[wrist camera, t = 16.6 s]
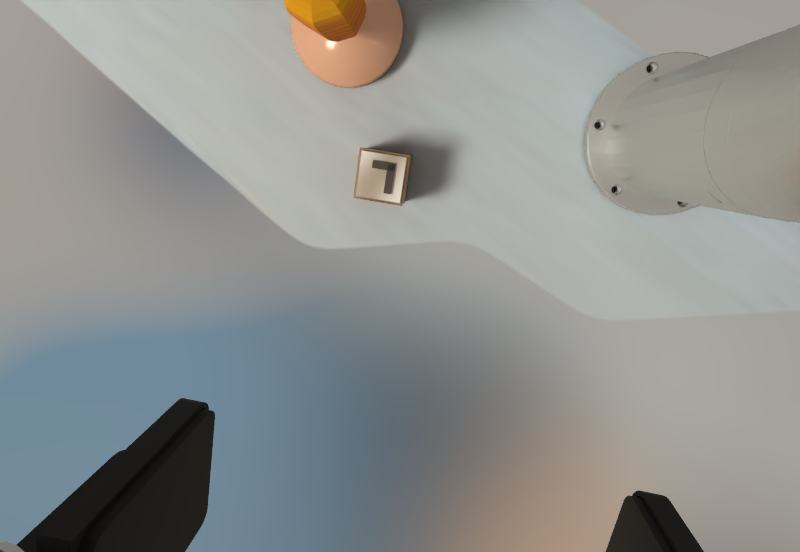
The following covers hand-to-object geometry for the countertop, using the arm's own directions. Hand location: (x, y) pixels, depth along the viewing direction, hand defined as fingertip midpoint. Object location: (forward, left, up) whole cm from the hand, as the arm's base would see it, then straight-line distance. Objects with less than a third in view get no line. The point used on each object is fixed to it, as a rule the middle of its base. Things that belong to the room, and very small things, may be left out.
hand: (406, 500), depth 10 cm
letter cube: (+5, -5, -33) cm, 34 cm away
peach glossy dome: (+10, -16, -33) cm, 38 cm away
